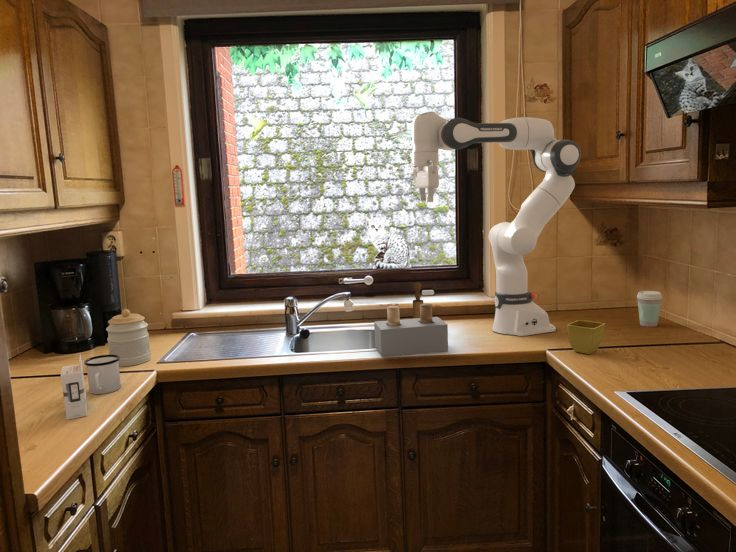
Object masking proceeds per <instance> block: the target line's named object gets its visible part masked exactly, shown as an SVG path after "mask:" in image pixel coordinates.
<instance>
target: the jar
mask: <svg viewBox="0 0 736 552" xmlns="http://www.w3.org/2000/svg"><path fill="white" fill-rule="evenodd" d="M145 318H146V317H145V316H143V315H141V314H139V313H131V311H130V309H128V308H124V309H123V310H122V311H121V314H117V315H115V316H113V317H111V319H109V320H108V321H107V323H108V324H109V325H108V326H107V327H106V329H105V331H107V334H108V335H107V336H108V337H107V344H108V345H107V346H108V355H118V356H120V360H119V361H118V364H119V367H132V366H136V365H140V364H145V363H146V362H148V361H150V360H151V355H152V353H151V347H150V346H151V345H150V337H149V336H150V333H149V332H148V326H149V323H147V322H146V321H144V320H145Z"/></svg>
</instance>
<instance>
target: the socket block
mask: <svg viewBox="0 0 736 552" xmlns="http://www.w3.org/2000/svg"><path fill="white" fill-rule="evenodd" d="M373 323H374V345H375V346H374V347H375V349H376V351H377V353H378V354H379V355H380V357H381V358H387V357H397V356H398V357H399V356H409V355H422V354H432V353H433V354H436V353H443V352H444V353H448V352H449V331H448V329H449V328H448V327H449V326H448V323H446V322H445V321H443V319H441V318H440V317H438V316H432V323H425V324H421V323H420V318H415V319H413V318H403V319H400V326H388V320H377V321H373Z"/></svg>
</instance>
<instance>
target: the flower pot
mask: <svg viewBox="0 0 736 552" xmlns="http://www.w3.org/2000/svg"><path fill="white" fill-rule="evenodd" d="M566 326H567V334H568V341H569V343H570V347H571V348H572V349H573V351H574V352H576V353H579V354H585V355H586V354H587V355H591V354H592V353H595V352H597V351H598V349H599V348H600V346H601V345H602V341H603V338H604V334H605V329H606V328H605V326H606V323H605V322H600V321H591V320H584V319H583V320H582V319H577V320H575V321H573V322H570V323H568V324H567V325H566Z"/></svg>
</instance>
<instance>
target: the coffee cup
mask: <svg viewBox="0 0 736 552" xmlns="http://www.w3.org/2000/svg"><path fill="white" fill-rule="evenodd" d="M636 299H637V307H638V316H639V317H638V318H639V325H640V326H642V327H652V328H653V327H657V326H658V325H659V319H660V312H661V305H662V299H663V295H662V292H660V291H657V290H641V291H638V293H637V295H636Z"/></svg>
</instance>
